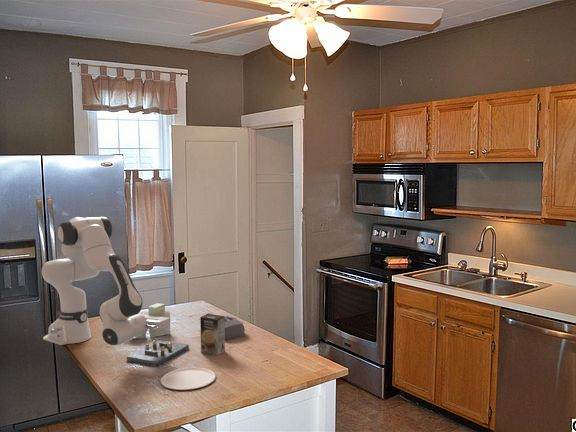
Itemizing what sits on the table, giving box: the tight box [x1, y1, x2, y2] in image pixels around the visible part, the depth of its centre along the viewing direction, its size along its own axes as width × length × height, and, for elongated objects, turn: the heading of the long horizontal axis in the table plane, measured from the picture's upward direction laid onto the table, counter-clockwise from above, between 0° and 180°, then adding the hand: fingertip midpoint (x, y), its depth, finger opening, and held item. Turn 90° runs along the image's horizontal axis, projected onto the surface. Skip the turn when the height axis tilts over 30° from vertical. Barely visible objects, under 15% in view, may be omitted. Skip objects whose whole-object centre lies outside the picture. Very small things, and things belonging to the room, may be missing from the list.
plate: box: [160, 366, 217, 391], centre depth 202 cm, size 21×21×1 cm
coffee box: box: [199, 313, 226, 356], centre depth 231 cm, size 9×6×16 cm
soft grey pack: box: [224, 315, 246, 341], centre depth 256 cm, size 15×8×20 cm
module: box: [147, 303, 166, 335], centre depth 227 cm, size 4×6×12 cm
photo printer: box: [149, 309, 171, 338], centre depth 255 cm, size 10×4×12 cm, turn 123°
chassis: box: [126, 339, 190, 368], centre depth 229 cm, size 16×22×5 cm
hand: (158, 316), depth 228 cm, fingers closed on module, 4 cm apart
